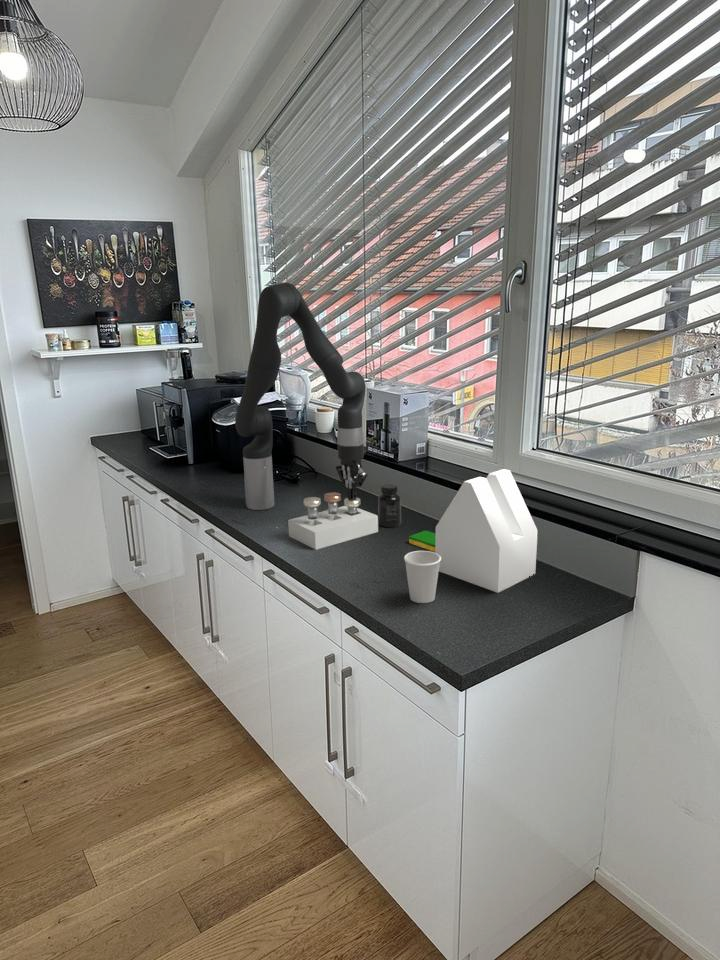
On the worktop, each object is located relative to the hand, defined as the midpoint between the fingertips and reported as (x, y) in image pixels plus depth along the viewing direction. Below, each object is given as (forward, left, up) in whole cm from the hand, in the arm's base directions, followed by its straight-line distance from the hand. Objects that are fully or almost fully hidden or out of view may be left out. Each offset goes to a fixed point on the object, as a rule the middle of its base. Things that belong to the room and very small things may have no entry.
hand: (352, 499), depth 198 cm
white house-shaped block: (+47, +6, -10) cm, 48 cm away
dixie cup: (+48, -16, -9) cm, 51 cm away
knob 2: (0, 0, -5) cm, 5 cm away
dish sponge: (+26, +9, -10) cm, 29 cm away
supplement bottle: (+4, +11, -9) cm, 15 cm away
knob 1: (0, -14, -3) cm, 14 cm away
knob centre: (0, -7, -3) cm, 7 cm away
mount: (0, -7, -9) cm, 11 cm away
